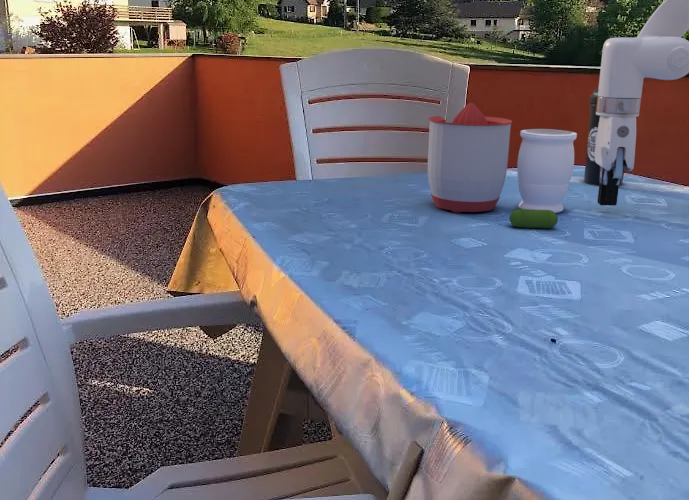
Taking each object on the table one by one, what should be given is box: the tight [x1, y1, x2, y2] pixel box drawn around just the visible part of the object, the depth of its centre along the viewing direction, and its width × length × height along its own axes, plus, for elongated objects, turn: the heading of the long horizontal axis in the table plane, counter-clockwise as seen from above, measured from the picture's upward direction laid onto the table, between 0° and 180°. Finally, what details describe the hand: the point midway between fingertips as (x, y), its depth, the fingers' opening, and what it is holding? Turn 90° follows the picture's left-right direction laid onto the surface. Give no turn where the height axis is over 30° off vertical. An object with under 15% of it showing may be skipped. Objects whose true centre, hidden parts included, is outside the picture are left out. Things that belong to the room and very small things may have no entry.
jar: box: [516, 128, 578, 214], centre depth 135 cm, size 11×10×15 cm
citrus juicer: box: [427, 102, 513, 214], centre depth 136 cm, size 16×17×20 cm
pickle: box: [509, 208, 559, 229], centre depth 123 cm, size 8×3×3 cm, turn 85°
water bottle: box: [583, 87, 626, 187], centre depth 162 cm, size 10×10×23 cm
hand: (606, 204), depth 136 cm, fingers closed
